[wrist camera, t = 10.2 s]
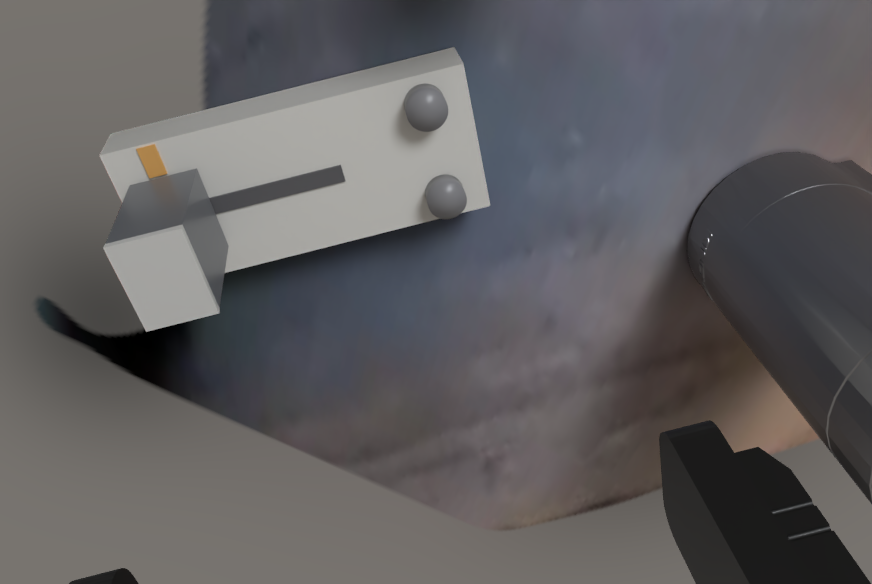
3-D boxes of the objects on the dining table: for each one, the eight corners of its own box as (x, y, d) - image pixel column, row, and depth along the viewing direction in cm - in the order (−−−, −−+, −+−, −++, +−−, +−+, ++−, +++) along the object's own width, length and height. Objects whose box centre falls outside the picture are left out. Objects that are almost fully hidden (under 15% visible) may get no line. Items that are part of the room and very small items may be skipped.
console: (454, 47, 36) (467, 71, 34) (480, 183, 40) (494, 215, 37) (110, 133, 36) (94, 165, 34) (170, 261, 40) (160, 300, 37)
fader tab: (197, 167, 35) (181, 228, 30) (229, 246, 37) (218, 313, 33) (129, 184, 35) (102, 248, 30) (165, 262, 37) (145, 331, 33)
